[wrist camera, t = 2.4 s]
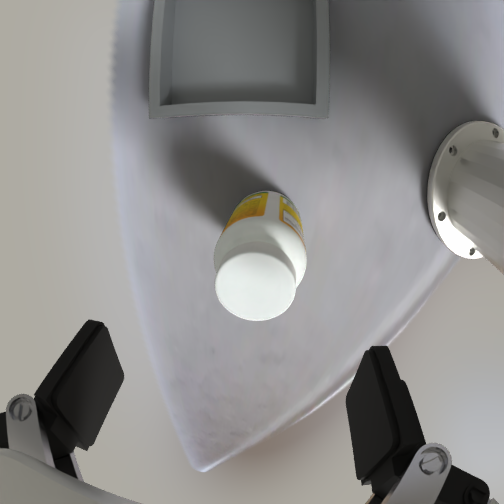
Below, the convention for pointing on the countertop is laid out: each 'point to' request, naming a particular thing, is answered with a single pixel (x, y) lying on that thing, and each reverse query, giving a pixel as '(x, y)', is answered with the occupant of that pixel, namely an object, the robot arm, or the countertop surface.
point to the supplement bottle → (260, 257)
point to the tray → (239, 58)
